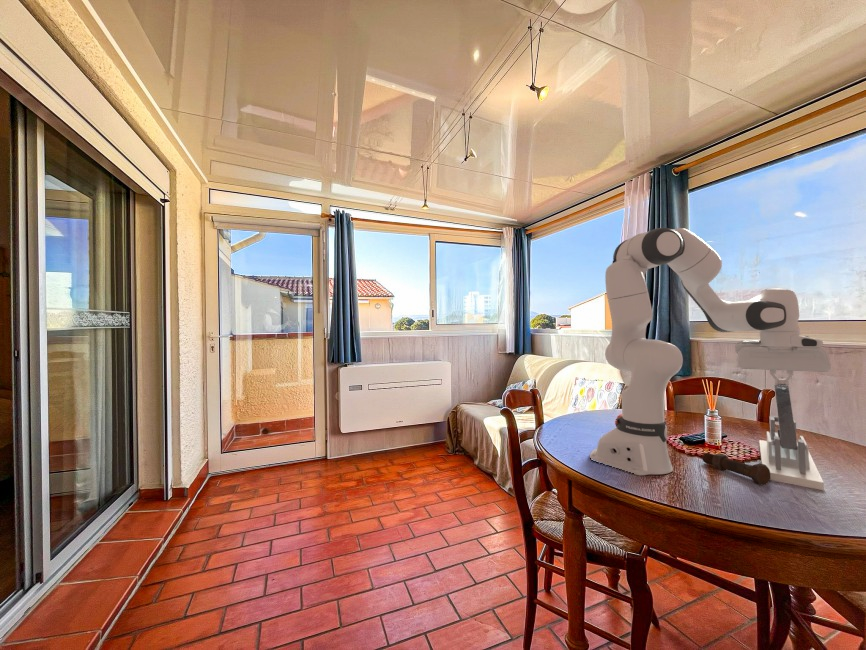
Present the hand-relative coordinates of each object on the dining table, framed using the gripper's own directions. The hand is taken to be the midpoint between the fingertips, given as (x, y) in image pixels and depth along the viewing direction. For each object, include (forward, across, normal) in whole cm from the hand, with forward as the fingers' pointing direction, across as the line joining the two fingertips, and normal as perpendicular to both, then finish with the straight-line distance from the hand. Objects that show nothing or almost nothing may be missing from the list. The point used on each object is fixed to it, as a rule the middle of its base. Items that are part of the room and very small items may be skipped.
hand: (781, 384), depth 106 cm
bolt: (+23, -12, -22) cm, 34 cm away
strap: (+8, 0, -8) cm, 11 cm away
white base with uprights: (+23, 0, -6) cm, 24 cm away
